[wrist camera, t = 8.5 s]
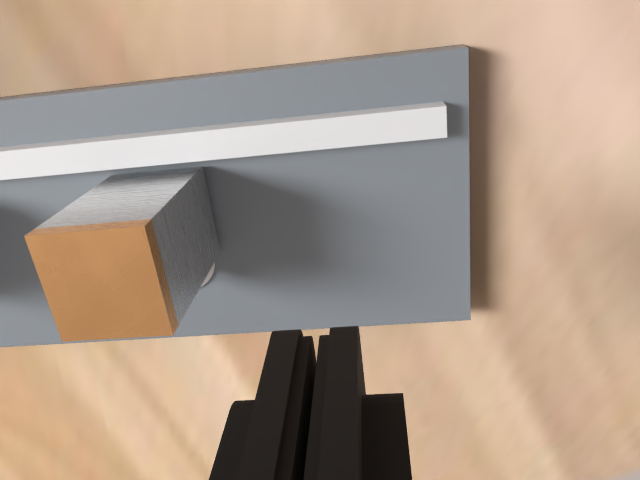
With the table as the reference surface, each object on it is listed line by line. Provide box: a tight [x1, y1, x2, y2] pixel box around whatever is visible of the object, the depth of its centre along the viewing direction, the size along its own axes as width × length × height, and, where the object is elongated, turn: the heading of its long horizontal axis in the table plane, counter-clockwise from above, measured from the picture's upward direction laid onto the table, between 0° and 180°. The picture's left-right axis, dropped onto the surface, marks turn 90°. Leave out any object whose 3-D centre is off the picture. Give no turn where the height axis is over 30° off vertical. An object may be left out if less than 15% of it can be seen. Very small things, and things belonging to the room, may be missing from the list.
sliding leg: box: [24, 166, 220, 342], centre depth 21 cm, size 5×4×7 cm
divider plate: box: [0, 45, 471, 347], centre depth 22 cm, size 12×30×8 cm, turn 97°
